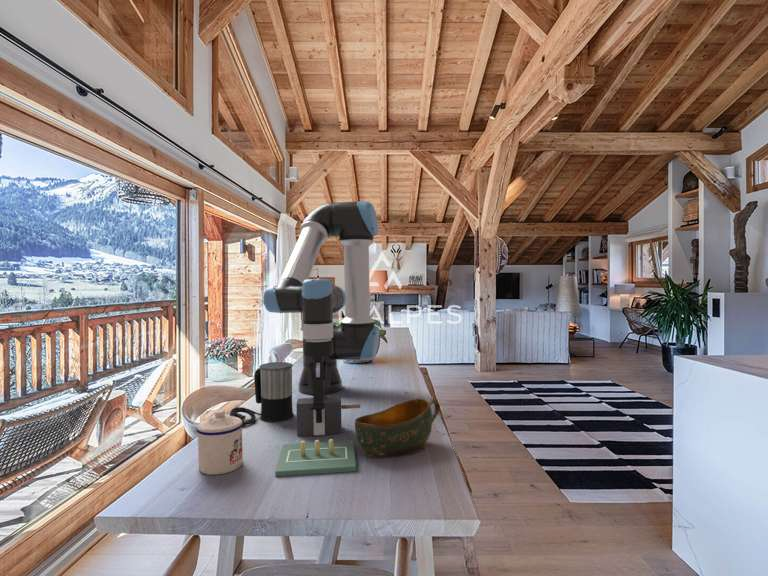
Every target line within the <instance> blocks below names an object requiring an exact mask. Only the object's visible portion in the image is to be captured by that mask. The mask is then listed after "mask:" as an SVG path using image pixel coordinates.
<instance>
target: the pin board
mask: <svg viewBox="0 0 768 576" xmlns="http://www.w3.org/2000/svg"><path fill="white" fill-rule="evenodd" d="M354 446H355V445H354V440H352V439H351V440H337V441H335V440H334V439H333V438H331V439H328V441H320V439H316V440H314V442H306V440H301V441H300V443H285V444H284V443H283V444H282V448H281V450H280V451H281V452H280V454H279V459H278V461H277V464H276V469H275V470H274V472H275V474H274V477H288V476H304V475H319V474H320V475H321V474H322V475H323V474H333V473H350V472H351V473H352V472H356V471H357V464H356V455H355V447H354Z"/></svg>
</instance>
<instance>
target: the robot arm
mask: <svg viewBox="0 0 768 576" xmlns="http://www.w3.org/2000/svg"><path fill="white" fill-rule="evenodd" d="M378 222H379V221H378V217H377V212H376V210H375V207H374V205H373V203H371V202H370V201H364V200H363V201H361V200H360V201H359V200H357V201H341V202H327V203H323V204H322V205H319V206H318V207H316V208H314V209H313V210H312V211H311V212H310V213H309V214H308V215H307V216H306V217H305V218H304V219H303V221H302V222H301V225H300V227H299V229H298V230H299V237H298V239H297V242H296V243H295V245H294V248H293V250H292V253H291V254H290V256H289V260H288V262H287V264H286V265H285V268H284V270H283V273H282V275H281V276H280V277H281V278H280V279H279V282H278V284H277V285H271V286H268V287H266V288H265V290H264V292H263V298H262V299H263V300H262V301H263V305H264V307H265V309H266V311H268V312H269V313H276V314H277V313H278V314H289V313H290V314H295V313H296V314H297V313H298V314H301V313H302V326H301V327H300V331H302V338H301V339H302V362H303V364H302V365H303V367H302V370H301V374H300V377H299V381H298V391H299V392H300V393H301V394H308V395H312V398H313V407H311V410H313V417H314V435H313V436H325V409H324V397H328V395H327V394H333V393H337V392H339V391H341V390H342V389H343V380H342V377H341V374H340V372H339V370H338V369H339V368H338V365H337V364H338V363H337V361H338V360H341V361H342V360H345V361H347V360H348V361H349V360H350V361H360V362H362V361H372V360H373V359H374V358H375V357H376V355H377V353H378V350H379V349H378V348H379V344H380V336H381V335H380V334H381V331H380V327H379V326H378V325H375V319H374V318H372V316H371V312H370V311H371V306H370V305H371V300H370V298H371V297H370V295H371V293H370V290H371V289H370V245H372V244H373V242H374V237H375V236H377V235H378V233H379V223H378ZM332 237H333V238H337V237H338V240H339V241H338V242H339V243H340V244H341V245H342V247H343V272H344V273H343V274H344V275H343V276H344V290H343V288H341V287H340V286H339V285H336V284H335V285H334V284H333V283H332V280H331V279H329V278H311V279H310V276H311V273H312V270H313V268H314V265H315V263H316V260H317V257H318V255H319V252H320V249H321V247H322V245H323V244H325V243H326V242H327V240H328V239H329V238H332ZM343 308H344V317H343V318H342V319H341V321H340V325H337V322H336V321H334V320H333V314H334V313H338V312H339V311H340V310H342V309H343Z"/></svg>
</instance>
